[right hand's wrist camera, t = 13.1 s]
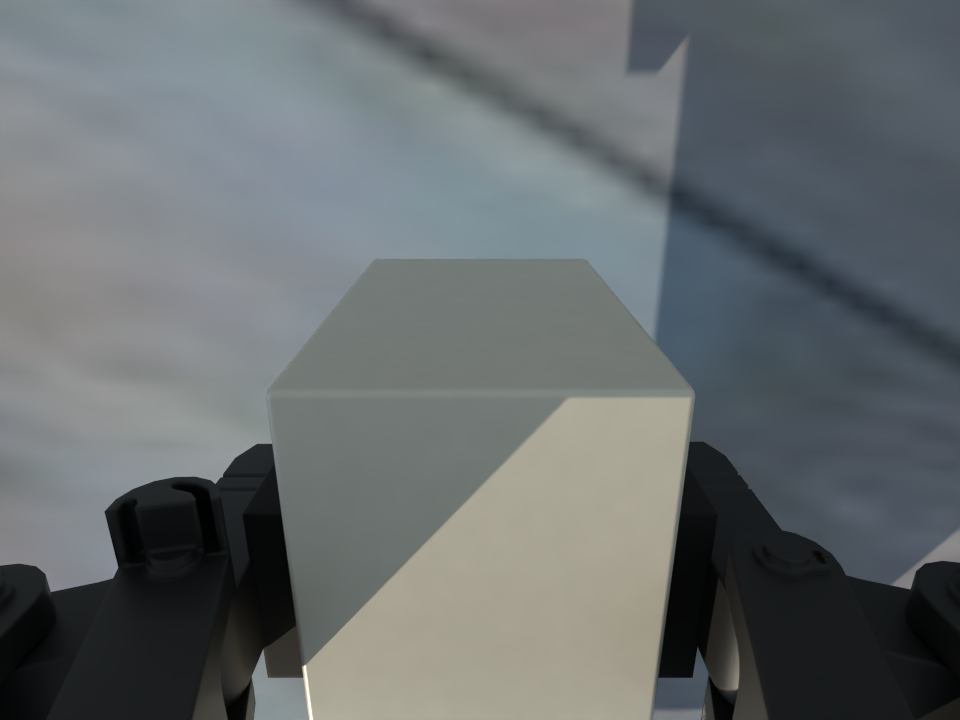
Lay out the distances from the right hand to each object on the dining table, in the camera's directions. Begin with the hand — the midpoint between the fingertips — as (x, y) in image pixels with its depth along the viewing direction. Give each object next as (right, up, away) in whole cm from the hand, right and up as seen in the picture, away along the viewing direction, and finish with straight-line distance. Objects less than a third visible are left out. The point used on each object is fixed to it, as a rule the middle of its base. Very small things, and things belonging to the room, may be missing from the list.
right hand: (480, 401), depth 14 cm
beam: (0, -9, +3) cm, 10 cm away
